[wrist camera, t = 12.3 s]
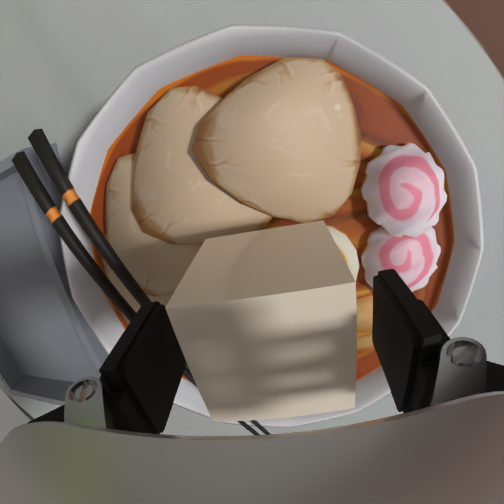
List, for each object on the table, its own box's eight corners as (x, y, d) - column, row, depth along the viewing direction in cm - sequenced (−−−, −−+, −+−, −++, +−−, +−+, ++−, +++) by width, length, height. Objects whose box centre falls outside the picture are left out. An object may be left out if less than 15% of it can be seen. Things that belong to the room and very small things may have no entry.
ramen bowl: (459, 290, 22) (509, 347, 14) (232, 397, 27) (221, 467, 20) (322, -4, 14) (346, -67, 7) (61, 172, 20) (-13, 196, 12)
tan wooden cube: (323, 220, 12) (355, 281, 7) (332, 320, 14) (354, 407, 9) (205, 239, 13) (165, 307, 8) (231, 334, 15) (213, 421, 10)
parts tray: (56, 143, 19) (22, 148, 15) (145, 386, 28) (132, 415, 24) (-48, 204, 22) (-71, 214, 18) (25, 374, 30) (11, 393, 26)
